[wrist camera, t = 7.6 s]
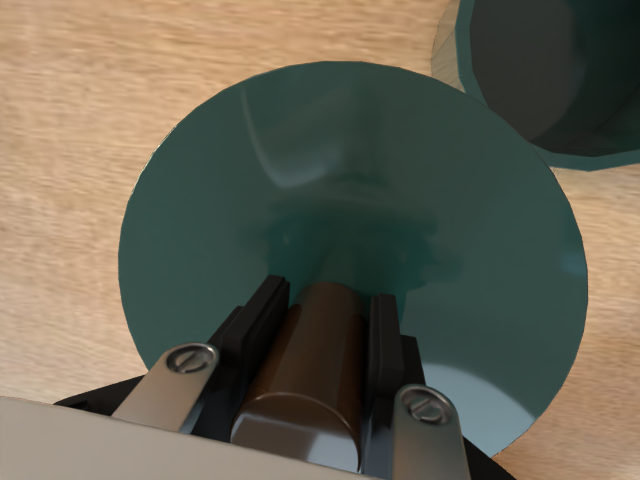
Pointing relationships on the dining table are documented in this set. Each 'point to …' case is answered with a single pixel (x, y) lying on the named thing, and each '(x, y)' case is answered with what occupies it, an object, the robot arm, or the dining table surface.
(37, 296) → the dining table surface
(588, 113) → the pot
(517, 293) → the lid
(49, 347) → the dining table surface
